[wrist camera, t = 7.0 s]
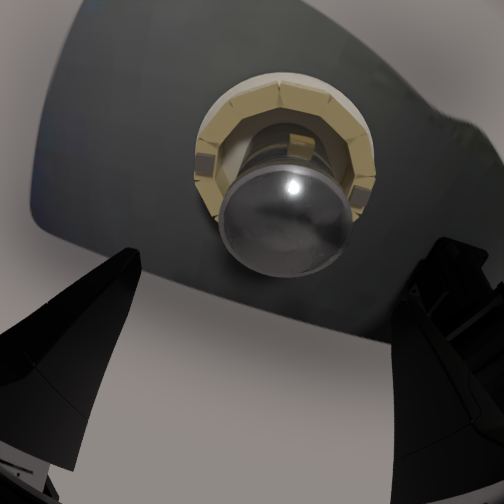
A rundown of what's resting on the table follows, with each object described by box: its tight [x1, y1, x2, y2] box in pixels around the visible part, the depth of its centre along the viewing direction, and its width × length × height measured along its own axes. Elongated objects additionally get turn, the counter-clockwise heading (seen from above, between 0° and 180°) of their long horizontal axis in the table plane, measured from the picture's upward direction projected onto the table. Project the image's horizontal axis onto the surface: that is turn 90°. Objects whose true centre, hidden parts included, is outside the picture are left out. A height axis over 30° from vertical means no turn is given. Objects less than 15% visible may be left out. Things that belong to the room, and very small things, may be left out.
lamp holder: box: [194, 72, 376, 222], centre depth 17 cm, size 11×11×4 cm
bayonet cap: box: [218, 123, 353, 278], centre depth 14 cm, size 6×5×7 cm
